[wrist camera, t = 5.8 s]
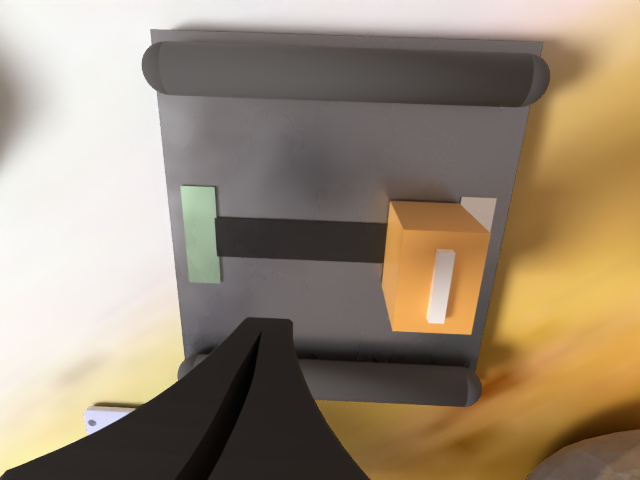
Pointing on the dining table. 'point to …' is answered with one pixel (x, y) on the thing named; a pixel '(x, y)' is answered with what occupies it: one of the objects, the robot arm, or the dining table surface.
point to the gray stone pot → (594, 459)
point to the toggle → (433, 267)
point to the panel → (325, 204)
